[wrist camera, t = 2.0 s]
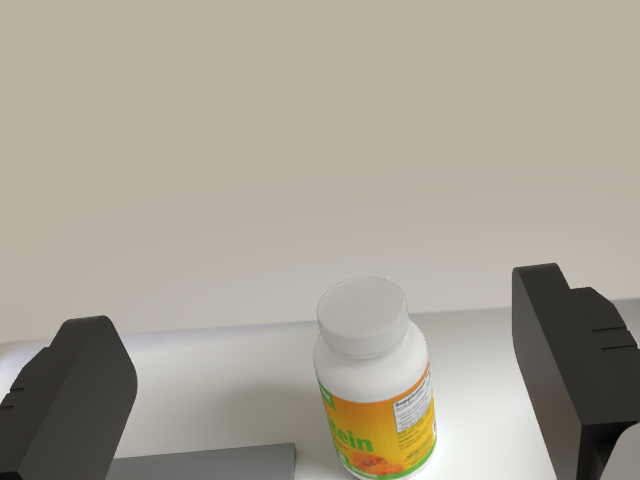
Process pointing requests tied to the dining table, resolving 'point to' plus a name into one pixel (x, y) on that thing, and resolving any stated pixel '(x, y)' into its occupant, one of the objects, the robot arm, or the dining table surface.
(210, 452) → the placemat
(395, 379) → the supplement bottle
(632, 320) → the dining table surface
